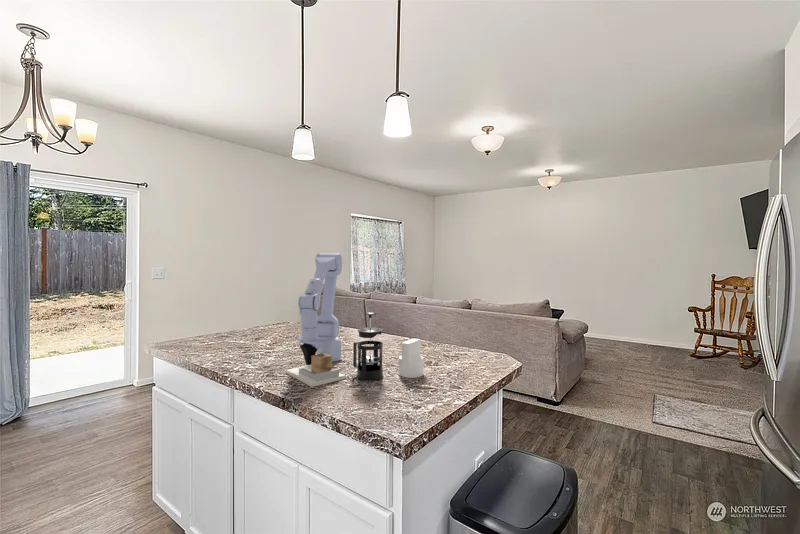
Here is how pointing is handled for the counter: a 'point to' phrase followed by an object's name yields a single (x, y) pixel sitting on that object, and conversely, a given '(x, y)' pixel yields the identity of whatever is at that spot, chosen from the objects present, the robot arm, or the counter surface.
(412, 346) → the cylinder with rectangular tab
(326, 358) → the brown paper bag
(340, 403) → the counter surface
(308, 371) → the shallow rectangular tray
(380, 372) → the french press
